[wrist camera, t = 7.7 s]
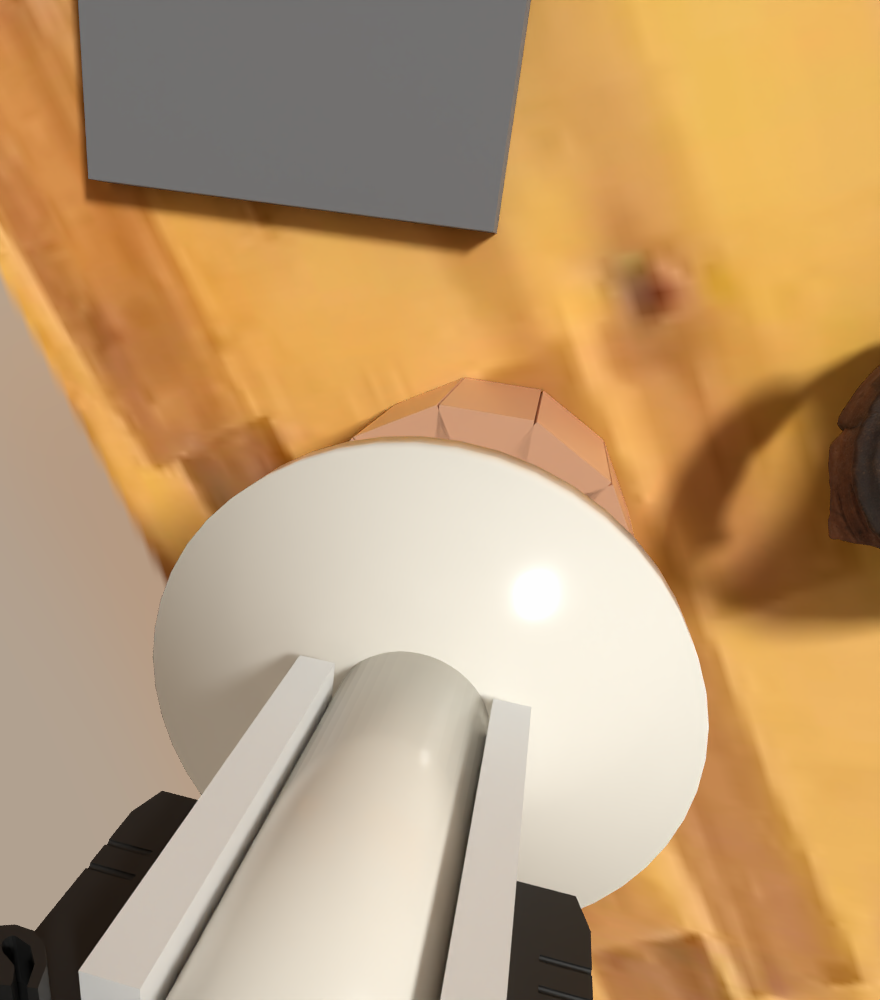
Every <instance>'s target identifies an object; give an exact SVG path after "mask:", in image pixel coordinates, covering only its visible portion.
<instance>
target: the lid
mask: <svg viewBox="0 0 880 1000" xmlns="http://www.w3.org/2000/svg"><path fill="white" fill-rule="evenodd" d="M300 655H301V656H306V657H310V658H315V659H319V660H324V661H328V662H333V663H335V668H334V680H333V692H332V700H331V702H330V704H329V705H328V707H327V709H326V711H325V713H324V714H323V716H322V718H321V720H320V722H319V723H318V725H317V727H316V729H315V731H314V732H313V734H312V736H311V738H310V740H309V741H308V743H307V745H306V747H305V749H304V750H303V752H302V754H301V756H300V758H299V759H298V761H297V763H296V765H295V767H294V769H293V770H292V772H291V774H290V776H289V778H288V779H287V781H286V783H285V785H284V787H283V788H282V790H281V792H280V794H279V796H278V797H277V799H276V801H275V803H274V805H273V806H272V808H271V810H270V812H269V814H268V815H267V817H266V819H265V821H264V823H263V824H262V826H261V828H260V830H259V832H258V833H257V835H256V837H255V839H254V841H253V842H252V844H251V846H250V848H249V850H248V851H247V853H246V855H245V857H244V859H243V860H242V862H241V864H240V866H239V868H238V869H237V871H236V873H235V875H234V877H233V879H232V880H231V882H230V884H229V886H228V888H227V889H226V891H225V893H224V895H223V897H222V898H221V900H220V902H219V904H218V906H217V907H216V909H215V911H214V913H213V915H212V916H211V918H210V920H209V922H208V924H207V925H206V927H205V929H204V931H203V933H202V934H201V936H200V938H199V940H198V942H197V943H196V945H195V947H194V949H193V951H192V952H191V954H190V956H189V958H188V960H187V961H186V963H185V965H184V967H183V969H182V970H181V972H180V974H179V976H178V978H177V979H176V981H175V983H174V985H173V987H172V989H171V990H170V992H169V994H168V996H167V998H166V999H165V1000H440V995H441V989H442V984H443V978H444V972H445V967H446V961H447V955H448V950H449V944H450V938H451V933H452V927H453V922H454V916H455V910H456V905H457V899H458V893H459V888H460V882H461V876H462V871H463V865H464V859H465V854H466V848H467V842H468V837H469V831H470V825H471V820H472V814H473V808H474V803H475V797H476V792H477V786H478V780H479V775H480V769H481V763H482V758H483V752H484V746H485V741H486V735H487V730H488V725H489V719H490V714H491V709H492V703H493V699H498V700H502V701H507V702H511V703H516V704H520V705H525V706H529V707H531V717H530V728H529V740H528V752H527V764H526V775H525V787H524V799H523V811H522V823H521V834H520V846H519V858H518V870H517V881H519V882H523V883H527V884H531V885H535V886H539V887H543V888H546V889H550V890H554V891H558V892H562V893H566V894H570V895H573V896H576V898H577V900H578V902H579V905H580V907H581V908H583V907H585V906H588V905H590V904H592V903H595V902H597V901H598V900H600V899H602V898H603V897H605V896H607V895H608V894H610V893H612V892H614V891H615V890H617V889H619V888H620V887H622V886H623V885H624V884H626V883H627V882H628V881H629V880H631V879H632V878H633V877H634V876H636V875H637V874H638V873H640V872H641V871H642V870H643V869H645V868H646V867H647V866H648V865H649V863H650V862H651V861H652V860H653V859H654V858H655V857H656V856H657V855H658V854H659V853H660V852H661V851H662V850H663V849H664V847H665V846H666V845H667V844H668V842H669V841H670V839H671V838H672V836H673V835H674V834H675V832H676V831H677V829H678V828H679V826H680V825H681V823H682V822H683V820H684V818H685V816H686V814H687V812H688V810H689V807H690V805H691V803H692V801H693V799H694V797H695V794H696V792H697V789H698V786H699V782H700V778H701V775H702V771H703V767H704V764H705V760H706V750H707V739H708V729H709V724H708V710H707V695H706V689H705V685H704V681H703V676H702V672H701V668H700V663H699V659H698V656H697V653H696V650H695V647H694V644H693V641H692V638H691V635H690V632H689V629H688V627H687V624H686V622H685V619H684V617H683V614H682V612H681V610H680V607H679V605H678V602H677V600H676V597H675V596H674V594H673V592H672V591H671V589H670V587H669V585H668V584H667V582H666V580H665V579H664V577H663V575H662V573H661V572H660V570H659V568H658V567H657V565H656V564H655V563H654V561H653V560H652V559H651V558H650V556H649V555H648V554H647V553H646V551H645V550H644V549H643V548H642V546H641V545H640V544H639V543H638V541H637V540H636V539H635V538H634V536H633V535H632V534H631V533H630V532H628V531H627V530H626V529H625V528H624V527H623V526H622V525H621V524H620V523H619V522H618V521H617V520H616V519H615V518H614V517H613V516H612V515H611V514H610V513H609V512H608V511H607V510H606V509H604V508H603V507H602V506H600V505H599V504H597V503H596V502H595V501H593V500H592V499H591V498H589V497H588V496H587V495H585V494H584V493H582V492H581V491H580V490H578V489H577V488H576V487H574V486H573V485H571V484H569V483H567V482H566V481H564V480H562V479H560V478H558V477H557V476H555V475H553V474H551V473H549V472H548V471H546V470H544V469H542V468H540V467H538V466H536V465H534V464H531V463H529V462H526V461H524V460H521V459H519V458H516V457H514V456H511V455H509V454H506V453H504V452H501V451H498V450H494V449H490V448H486V447H482V446H478V445H474V444H470V443H467V442H463V441H457V440H448V439H440V438H432V437H424V436H383V437H376V438H369V439H362V440H355V441H348V442H344V443H340V444H337V445H333V446H330V447H326V448H323V449H319V450H316V451H313V452H310V453H308V454H306V455H304V456H301V457H299V458H297V459H295V460H293V461H290V462H288V463H286V464H284V465H281V466H280V467H278V468H277V469H275V470H274V471H272V472H271V473H269V474H267V475H266V476H264V477H263V478H261V479H260V480H258V481H257V482H255V483H253V484H252V485H250V486H249V487H248V488H246V489H245V490H243V491H242V492H240V493H239V494H237V495H236V496H234V497H233V498H231V499H230V500H229V501H228V502H227V503H226V504H224V505H223V506H222V507H221V508H220V509H219V510H218V511H217V512H215V513H214V514H213V515H212V516H211V517H210V518H209V519H208V520H207V521H206V522H205V523H204V524H203V526H202V527H201V528H200V529H199V530H198V532H197V533H196V534H195V535H194V537H193V538H192V539H191V540H190V541H189V543H188V544H187V545H186V547H185V549H184V551H183V552H182V554H181V556H180V557H179V559H178V561H177V563H176V564H175V566H174V568H173V570H172V571H171V574H170V577H169V579H168V582H167V584H166V587H165V590H164V592H163V595H162V598H161V601H160V606H159V611H158V615H157V620H156V625H155V633H154V650H153V663H154V675H155V686H156V691H157V695H158V700H159V705H160V709H161V714H162V717H163V720H164V723H165V725H166V728H167V731H168V734H169V737H170V739H171V742H172V745H173V747H174V748H175V750H176V753H177V755H178V757H179V759H180V760H181V763H182V764H183V767H184V769H185V770H186V772H187V774H188V775H189V777H190V778H191V780H192V781H193V783H194V784H195V786H196V787H197V789H198V790H199V792H200V794H201V795H202V794H203V793H204V791H205V790H206V788H207V787H208V785H209V784H210V783H211V781H212V780H213V778H214V777H215V775H216V774H217V773H218V771H219V770H220V768H221V767H222V765H223V764H224V763H225V761H226V760H227V758H228V757H229V755H230V754H231V753H232V751H233V750H234V748H235V747H236V746H237V744H238V743H239V741H240V740H241V738H242V737H243V736H244V734H245V733H246V731H247V730H248V728H249V727H250V726H251V724H252V723H253V721H254V720H255V718H256V717H257V716H258V714H259V713H260V711H261V710H262V708H263V707H264V706H265V704H266V703H267V701H268V700H269V699H270V697H271V696H272V694H273V693H274V691H275V690H276V689H277V687H278V686H279V684H280V683H281V681H282V680H283V679H284V677H285V676H286V674H287V673H288V671H289V670H290V669H291V667H292V666H293V664H294V663H295V661H296V660H297V659H298V657H299V656H300Z"/></svg>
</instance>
